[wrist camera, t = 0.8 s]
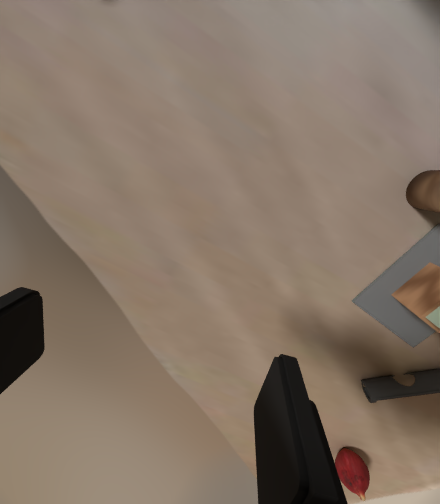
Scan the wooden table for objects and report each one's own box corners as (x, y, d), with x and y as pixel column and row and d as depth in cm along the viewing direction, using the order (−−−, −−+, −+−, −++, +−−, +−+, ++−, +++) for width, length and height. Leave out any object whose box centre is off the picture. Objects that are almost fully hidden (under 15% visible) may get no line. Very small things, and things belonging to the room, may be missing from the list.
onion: (323, 449, 49) (338, 499, 41) (342, 435, 47) (362, 485, 40) (344, 461, 50) (363, 512, 42) (364, 447, 48) (387, 499, 40)
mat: (438, 223, 32) (440, 224, 32) (502, 279, 34) (505, 280, 33) (351, 300, 37) (352, 302, 37) (411, 346, 39) (413, 347, 38)
